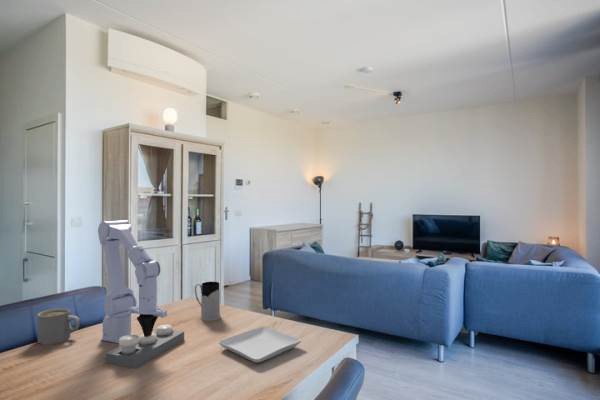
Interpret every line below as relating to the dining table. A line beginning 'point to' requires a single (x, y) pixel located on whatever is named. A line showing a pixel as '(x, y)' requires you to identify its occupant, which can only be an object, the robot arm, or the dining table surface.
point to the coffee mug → (55, 325)
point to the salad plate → (260, 343)
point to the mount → (144, 350)
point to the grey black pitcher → (209, 301)
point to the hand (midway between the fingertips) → (147, 335)
